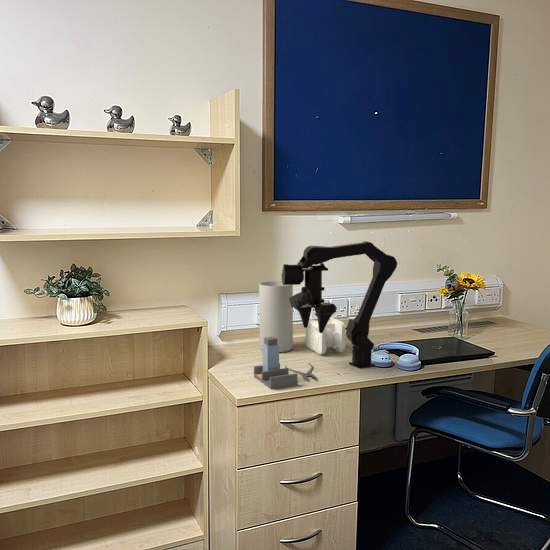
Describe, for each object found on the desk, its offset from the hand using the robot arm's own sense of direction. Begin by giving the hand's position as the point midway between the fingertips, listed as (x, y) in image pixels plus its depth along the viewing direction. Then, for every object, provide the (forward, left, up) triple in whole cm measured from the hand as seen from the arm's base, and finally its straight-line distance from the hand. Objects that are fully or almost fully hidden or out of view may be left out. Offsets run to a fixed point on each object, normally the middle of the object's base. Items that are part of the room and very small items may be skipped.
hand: (313, 330), depth 207 cm
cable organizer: (+16, -16, -13) cm, 26 cm away
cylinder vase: (+28, -2, -13) cm, 31 cm away
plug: (-3, +18, -12) cm, 22 cm away
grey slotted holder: (-6, +18, -13) cm, 23 cm away
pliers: (-3, +4, -14) cm, 14 cm away
